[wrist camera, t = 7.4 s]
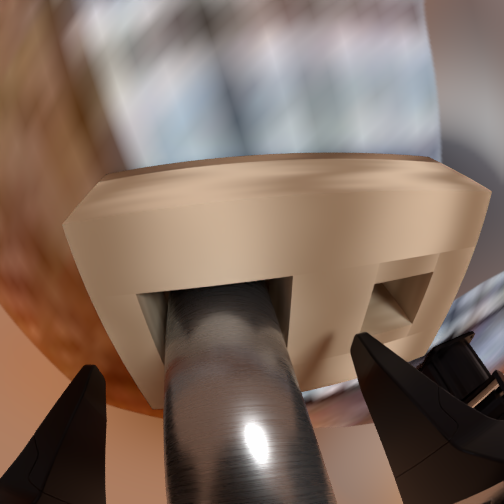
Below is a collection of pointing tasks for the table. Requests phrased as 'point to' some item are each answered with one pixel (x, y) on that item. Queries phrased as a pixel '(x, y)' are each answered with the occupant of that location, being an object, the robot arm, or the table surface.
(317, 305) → the bore block
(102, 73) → the table surface
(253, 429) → the peg
